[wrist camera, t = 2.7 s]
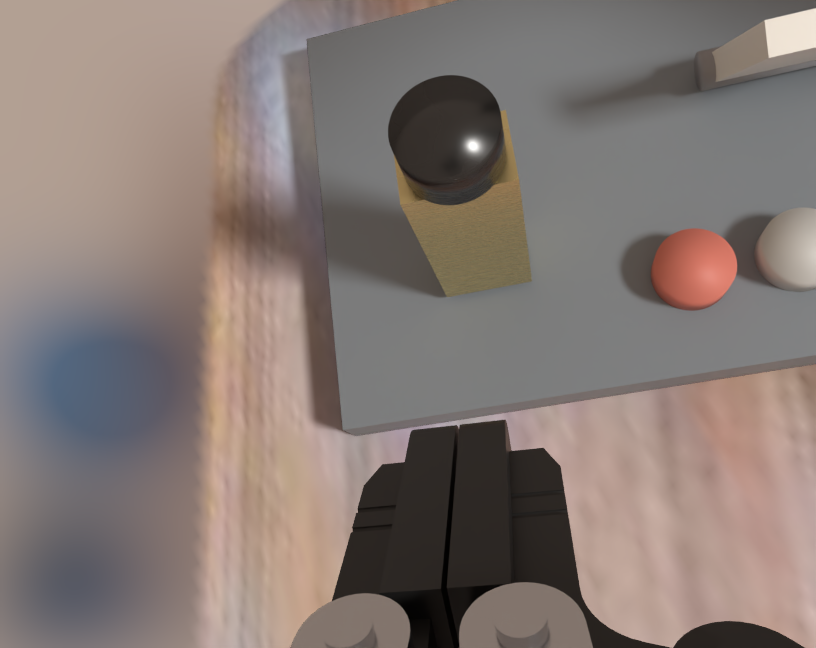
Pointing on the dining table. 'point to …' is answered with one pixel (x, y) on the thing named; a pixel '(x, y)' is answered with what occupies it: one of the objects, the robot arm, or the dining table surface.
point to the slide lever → (460, 184)
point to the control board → (572, 209)
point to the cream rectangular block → (760, 52)
